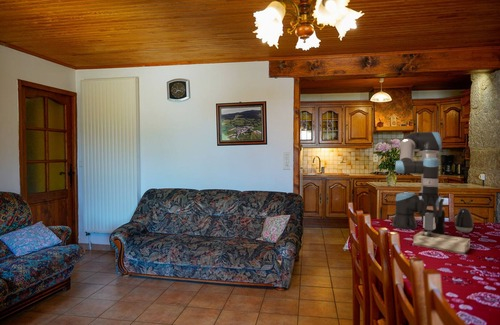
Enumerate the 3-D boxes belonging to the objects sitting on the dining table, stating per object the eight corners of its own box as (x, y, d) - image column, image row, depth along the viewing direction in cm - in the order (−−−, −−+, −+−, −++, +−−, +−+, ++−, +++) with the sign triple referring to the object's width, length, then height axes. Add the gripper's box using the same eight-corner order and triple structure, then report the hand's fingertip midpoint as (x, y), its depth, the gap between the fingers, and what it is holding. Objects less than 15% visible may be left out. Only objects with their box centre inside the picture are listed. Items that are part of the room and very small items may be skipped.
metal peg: (422, 239, 182) (423, 213, 182) (425, 237, 186) (426, 211, 185) (432, 240, 179) (433, 214, 178) (435, 239, 182) (436, 213, 182)
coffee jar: (447, 240, 191) (448, 209, 190) (427, 239, 193) (427, 208, 192) (440, 235, 201) (441, 206, 200) (421, 234, 203) (422, 205, 203)
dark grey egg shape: (467, 229, 216) (468, 206, 215) (476, 233, 206) (477, 209, 205) (451, 229, 217) (451, 206, 216) (459, 233, 207) (460, 209, 206)
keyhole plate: (413, 244, 181) (413, 235, 181) (421, 239, 192) (421, 231, 191) (464, 254, 165) (464, 244, 165) (469, 248, 175) (470, 239, 175)
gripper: (411, 185, 184) (410, 226, 185) (446, 187, 173) (445, 232, 173) (416, 184, 190) (415, 224, 191) (449, 186, 178) (448, 229, 179)
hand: (429, 228), depth 182 cm, fingers closed on metal peg, 4 cm apart
